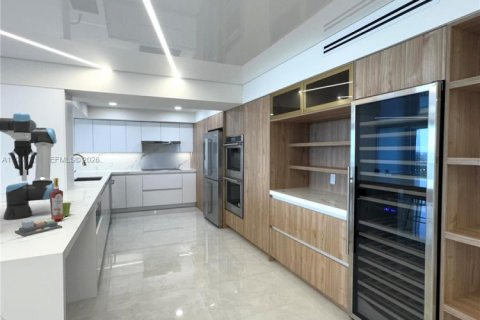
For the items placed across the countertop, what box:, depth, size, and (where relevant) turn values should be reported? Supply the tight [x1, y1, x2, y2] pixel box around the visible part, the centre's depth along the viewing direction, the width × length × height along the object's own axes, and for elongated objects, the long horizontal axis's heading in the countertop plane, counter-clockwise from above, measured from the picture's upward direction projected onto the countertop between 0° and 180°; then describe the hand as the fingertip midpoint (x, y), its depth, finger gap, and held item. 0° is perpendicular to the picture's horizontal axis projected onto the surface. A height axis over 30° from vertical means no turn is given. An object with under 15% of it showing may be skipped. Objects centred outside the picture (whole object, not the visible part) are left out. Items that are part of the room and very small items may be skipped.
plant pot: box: [63, 202, 72, 218], centre depth 178 cm, size 9×9×9 cm
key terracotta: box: [34, 221, 45, 227], centre depth 147 cm, size 4×4×3 cm
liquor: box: [49, 177, 64, 222], centre depth 166 cm, size 7×7×28 cm
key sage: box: [43, 218, 55, 224], centre depth 152 cm, size 4×4×3 cm
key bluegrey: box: [21, 220, 35, 229], centre depth 143 cm, size 4×4×3 cm
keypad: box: [14, 221, 63, 237], centre depth 148 cm, size 13×18×3 cm
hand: (24, 180), depth 148 cm, fingers closed
